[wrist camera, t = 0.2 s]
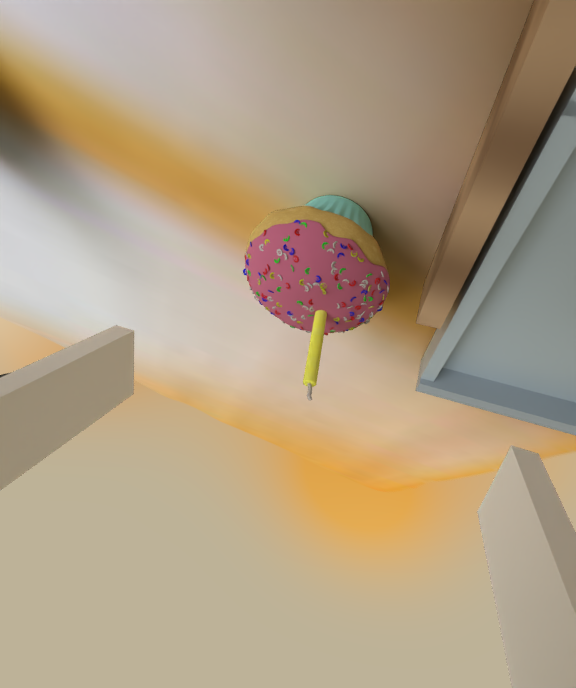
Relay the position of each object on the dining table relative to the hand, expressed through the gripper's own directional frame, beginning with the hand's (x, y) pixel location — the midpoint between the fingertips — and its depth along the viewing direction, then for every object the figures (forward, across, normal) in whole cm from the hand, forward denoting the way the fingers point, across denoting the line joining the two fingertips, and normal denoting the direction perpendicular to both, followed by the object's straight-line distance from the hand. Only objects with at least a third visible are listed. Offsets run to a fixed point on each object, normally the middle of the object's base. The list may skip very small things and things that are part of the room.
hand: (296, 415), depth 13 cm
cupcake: (+15, -2, +5) cm, 16 cm away
